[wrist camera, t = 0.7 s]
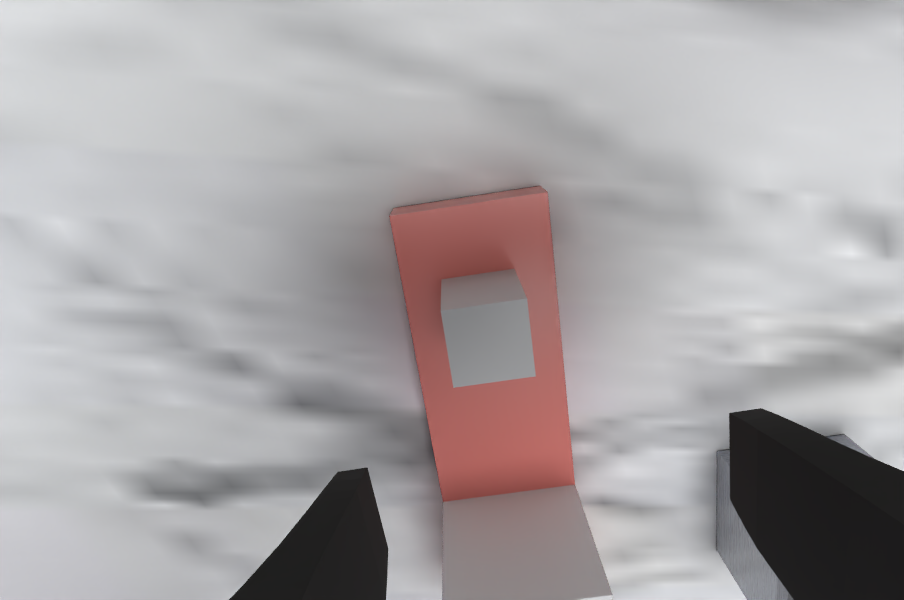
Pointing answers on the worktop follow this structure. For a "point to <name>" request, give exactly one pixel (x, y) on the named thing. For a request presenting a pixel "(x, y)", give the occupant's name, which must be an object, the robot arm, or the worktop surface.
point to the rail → (496, 397)
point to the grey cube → (748, 539)
